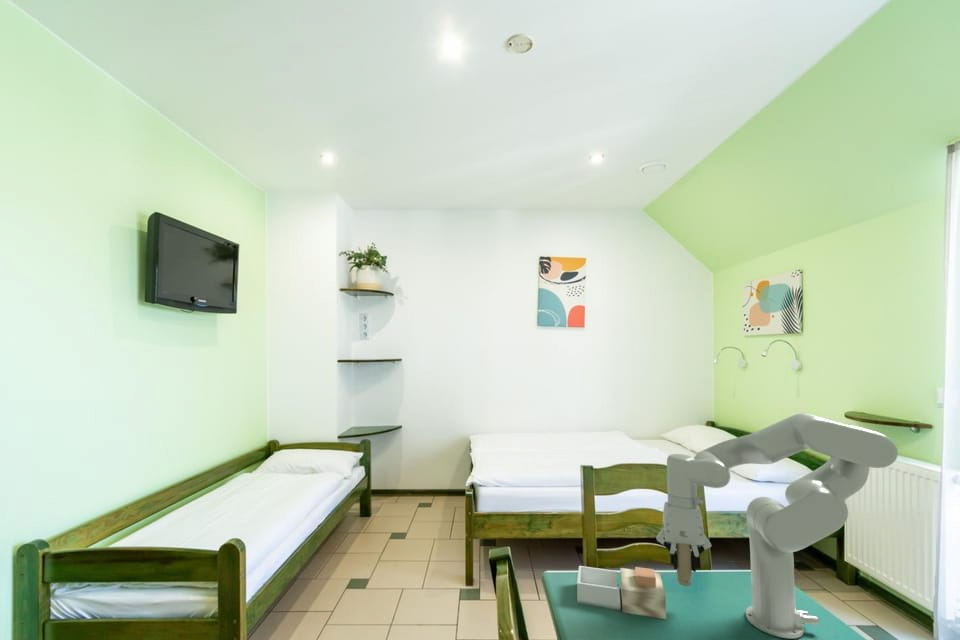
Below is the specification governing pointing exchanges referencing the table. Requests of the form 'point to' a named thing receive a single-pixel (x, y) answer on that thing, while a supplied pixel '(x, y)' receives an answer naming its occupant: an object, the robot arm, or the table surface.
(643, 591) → the beige textured block
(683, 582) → the handle
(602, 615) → the table surface
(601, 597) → the box
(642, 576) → the tile
